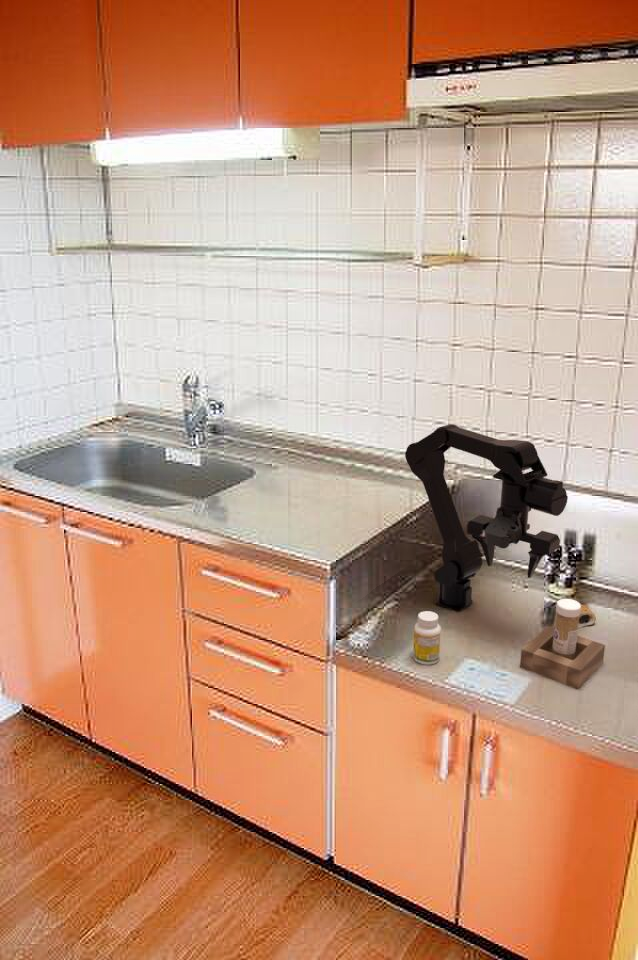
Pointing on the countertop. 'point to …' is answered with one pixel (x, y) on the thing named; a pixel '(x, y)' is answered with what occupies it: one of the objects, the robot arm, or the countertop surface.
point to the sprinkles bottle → (566, 628)
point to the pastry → (586, 617)
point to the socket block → (562, 659)
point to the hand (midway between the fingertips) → (509, 571)
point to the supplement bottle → (427, 638)
